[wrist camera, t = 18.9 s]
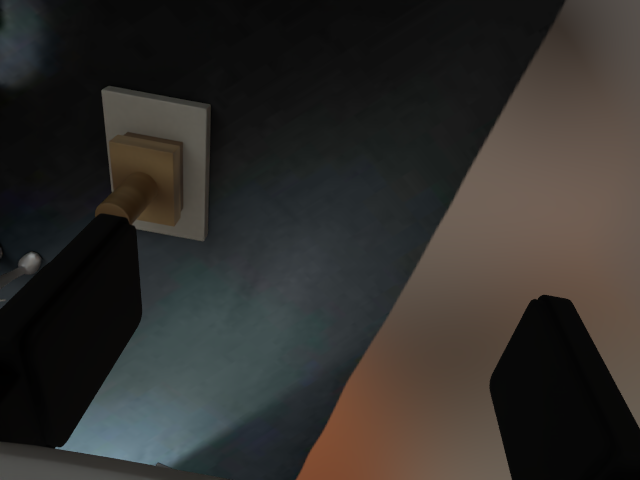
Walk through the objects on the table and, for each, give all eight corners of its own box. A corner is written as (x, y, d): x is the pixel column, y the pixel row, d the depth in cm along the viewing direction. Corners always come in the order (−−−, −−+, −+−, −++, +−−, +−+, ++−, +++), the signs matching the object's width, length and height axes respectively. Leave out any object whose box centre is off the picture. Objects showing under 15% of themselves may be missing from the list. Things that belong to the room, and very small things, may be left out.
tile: (108, 85, 36) (100, 89, 35) (211, 104, 36) (206, 109, 35) (120, 218, 43) (114, 225, 42) (208, 234, 43) (203, 241, 42)
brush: (124, 128, 37) (70, 169, 30) (185, 139, 37) (144, 183, 30) (130, 200, 40) (82, 250, 34) (185, 210, 40) (149, 263, 34)
